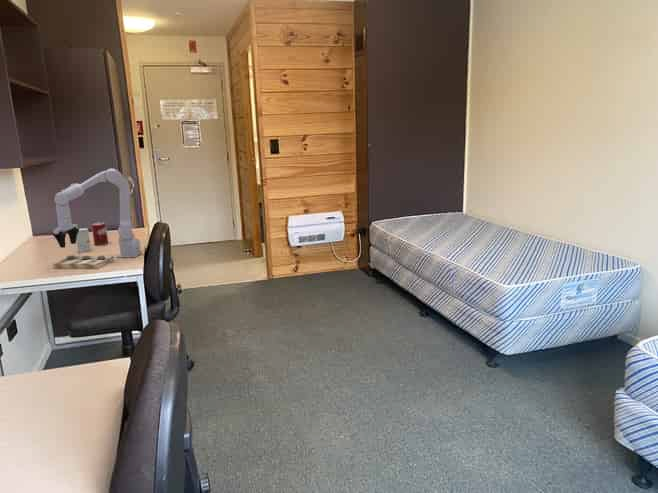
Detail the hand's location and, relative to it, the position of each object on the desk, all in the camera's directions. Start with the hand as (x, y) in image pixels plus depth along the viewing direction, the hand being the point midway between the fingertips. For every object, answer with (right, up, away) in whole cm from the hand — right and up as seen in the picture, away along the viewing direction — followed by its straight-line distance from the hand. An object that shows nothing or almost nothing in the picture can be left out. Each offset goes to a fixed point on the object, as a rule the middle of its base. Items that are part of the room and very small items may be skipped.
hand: (68, 245), depth 233 cm
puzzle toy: (+13, +1, +39) cm, 41 cm away
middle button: (+9, -7, 0) cm, 11 cm away
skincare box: (-5, -3, +25) cm, 26 cm away
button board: (+8, -9, -1) cm, 13 cm away
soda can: (-3, 0, +40) cm, 40 cm away
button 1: (+1, -7, +1) cm, 7 cm away
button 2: (+17, -7, -1) cm, 18 cm away
